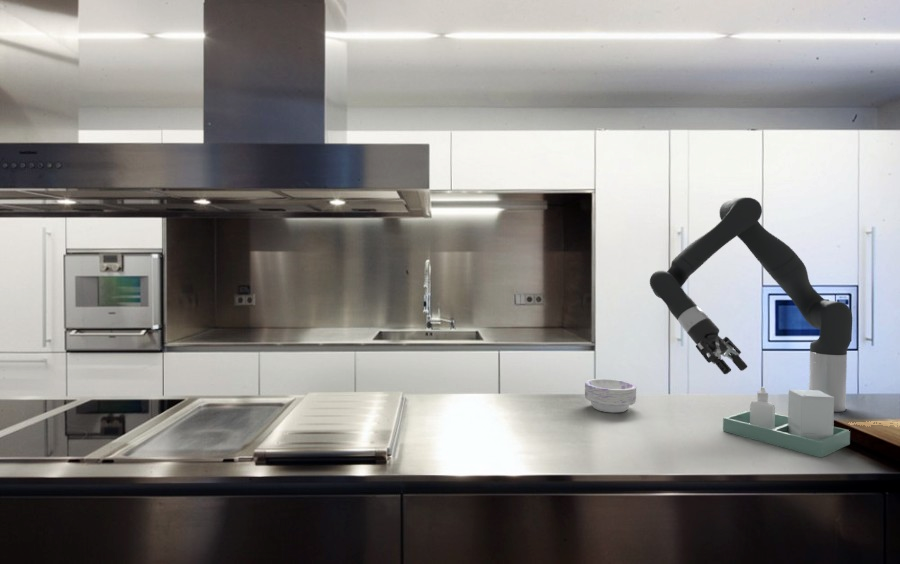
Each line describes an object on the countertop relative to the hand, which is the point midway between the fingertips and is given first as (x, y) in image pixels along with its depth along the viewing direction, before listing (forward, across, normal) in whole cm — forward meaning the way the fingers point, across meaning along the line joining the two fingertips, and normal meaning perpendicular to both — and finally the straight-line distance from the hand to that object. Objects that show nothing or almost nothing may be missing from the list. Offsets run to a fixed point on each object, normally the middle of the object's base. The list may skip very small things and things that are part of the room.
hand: (736, 370), depth 144 cm
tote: (+20, 0, +2) cm, 20 cm away
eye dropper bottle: (+16, 0, +6) cm, 17 cm away
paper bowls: (-10, -16, +32) cm, 38 cm away
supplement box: (+24, 0, -2) cm, 24 cm away
